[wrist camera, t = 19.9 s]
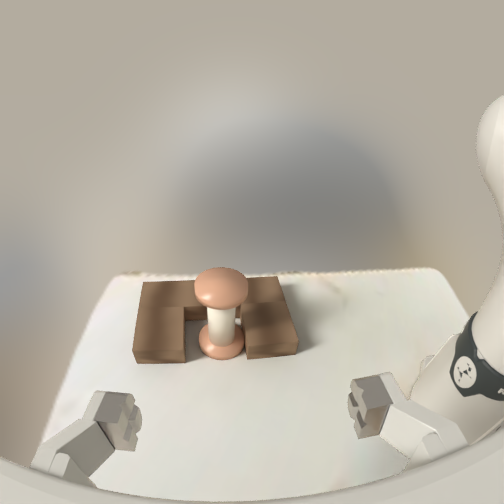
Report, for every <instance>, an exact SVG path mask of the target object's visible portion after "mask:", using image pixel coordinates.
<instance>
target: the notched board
mask: <svg viewBox="0 0 504 504" xmlns="http://www.w3.org/2000/svg"><path fill="white" fill-rule="evenodd" d="M246 279H247V281H248V295H247V298H246V300H245V301H244V302H243V303H242V304H240V305H239V306H237V307H236V309H235V318H240V320H241V326H242V331H243V333H244V343H245V349H246V355H247V359H258V358H268V357H278V356H287V355H295V354H296V350H297V347H298V343H299V340H298V337H297V334H296V331H295V328H294V325H293V322H292V319H291V316H290V313H289V310H288V307H287V304H286V301H285V298H284V295H283V292H282V289H281V286H280V283H279V280H278V277H277V276H274V277H256V278H246ZM194 283H195V280H189V281H161V282H143V286H142V291H141V297H140V303H139V309H138V315H137V321H136V327H135V334H134V341H133V348H132V351H133V354H134V357H135V359H136V362H137V364H159V363H186V354H185V321H191V320H208V315H207V307H206V306H204V305H202V304H201V303H200V302H199V301H198V300H197V298H196V296H195V286H194Z"/></svg>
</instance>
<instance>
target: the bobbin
mask: <svg viewBox="0 0 504 504" xmlns="http://www.w3.org/2000/svg"><path fill="white" fill-rule="evenodd" d="M194 286H195V296H196V298H197V300H198V301H199V302H200V303H201V304H202V305H204V306H206V307H207V315H208V324H207V325H205V326H204V327H203V328H202V329H201V331H200V333H199V345H200V348H201V350H202V352H203V353H204V354H205V355H207V356H208V357H210V358H213V359H216V360H227V359H231V358H234V357H235V356H237V355H238V354H239V353H240V352H241V351H242V349H243V347H244V333H243V331H242V329H241V328H240V327H239V326H238V325H236V324H235V309H236V307H237V306H239V305H240V304H242V303H243V302H244V301H245V300H246V298H247V295H248V281H247V279H246V277H245V276H244V275H243V274H242V273H240V272H239V271H236V270H234V269H231V268H224V267H222V268H221V267H220V268H219V267H218V268H212V269H208V270H206V271H204V272H202V273H201V274H199V275H198V277H197V278H196V280H195V283H194Z"/></svg>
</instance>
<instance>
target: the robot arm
mask: <svg viewBox="0 0 504 504" xmlns="http://www.w3.org/2000/svg"><path fill="white" fill-rule="evenodd" d="M476 153H477V159H478V164H479V168H480V171H481V174H482V177H483V179H484V181H485V183H486V185H487V186H488V188H489V190H490V192H491V194H492V196H493V198H494V200H495V203H496V206H497V208H498V212H499V216H500V220H501V227H502V234H503V235H502V237H503V246H502V255H501V260H500V264H499V268H498V271H497V274H496V276H495V279H494V281H493V283H492V286H491V288H490V290H489V292H488V294H487V296H486V298H485V300H484V302H483V304H482V306H481V307H480V309H479V311H477V312H476V313H474V314H473V315H472V316H471V318H470V319H469V321H467V323H466V324H465V325H464V327H463V329H462V331H461V333H460V334H456V335H455V334H453V335H451V336H450V337H449V339H448V340H447V341H446V342H445V344H444V345H443V346H442V347H441V349H440V350H439V351H438V352H437V354H436V355H435V356H427V357H426V358H425V359H424V360H423V361H422V363H421V373H420V376H419V378H418V380H417V381H416V383H415V384H414V386H413V389H412V392H411V397H410V400H406V398H405V396H404V394H403V392H402V391H401V389H400V387H399V385H398V384H397V382H396V380H395V378H394V377H393V375H392V373H390V372H386V373H382V374H377V375H372V376H367V377H363V378H358V379H353V380H352V381H351V385H350V388H351V390H352V392H351V393H350V394H349V395H348V410H349V414H350V417H351V418H352V419H354V420H355V423H354V428H355V431H356V434H357V437H358V439H361V438H366V437H371V436H375V435H379V436H380V437H382V438H383V439H384V440H386V441H387V442H388V443H389V444H391V445H392V446H393V447H395V448H396V449H397V450H398V451H400V452H401V453H402V454H404V455H405V456H406V457H408V458H409V459H410V461H409V463H408V464H407V466H406V467H405V469H404V471H403V473H400V474H397V475H394V476H391V477H387V478H384V479H381V480H377V481H373V482H370V483H366V484H362V485H358V486H354V487H349V488H345V489H340V490H335V491H330V492H324V493H319V494H312V495H306V496H299V497H291V498H282V499H271V500H258V501H235V502H207V501H184V500H171V499H160V498H151V497H144V496H137V495H130V494H124V493H118V492H113V491H108V490H103V489H99V488H97V487H96V485H95V484H94V483H93V482H92V481H91V480H90V479H89V478H88V477H89V476H90V475H91V474H93V473H94V472H95V471H96V470H97V469H98V468H99V467H100V466H101V465H102V464H103V463H104V462H105V461H106V459H107V458H108V457H109V456H110V455H111V454H112V453H113V452H114V451H115V450H124V451H135V448H136V444H137V441H138V438H137V436H136V433H137V432H138V431H140V429H141V425H142V416H141V412H140V409H139V408H138V407H137V406H136V405H134V403H135V399H134V397H133V395H132V394H128V393H118V392H106V391H96V392H94V394H93V396H92V398H91V400H90V402H89V404H88V407H87V409H86V411H85V413H84V415H83V418H82V419H78V420H76V421H75V422H74V423H72V424H71V425H69V426H68V427H66V428H65V429H63V430H62V431H61V432H59V433H58V434H56V435H55V436H53V437H52V438H50V439H49V440H47V441H46V442H44V443H43V444H42V445H40V446H39V448H38V450H37V452H36V454H35V457H34V459H33V461H32V463H31V465H30V468H27V467H25V466H22V465H20V464H17V463H15V462H12V461H10V460H8V459H5V458H3V457H1V456H0V504H504V95H503V96H501V97H499V98H497V99H496V100H495V101H494V102H492V103H491V104H490V106H489V107H488V108H487V109H486V111H485V112H484V114H483V116H482V118H481V121H480V123H479V127H478V131H477V136H476Z"/></svg>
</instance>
